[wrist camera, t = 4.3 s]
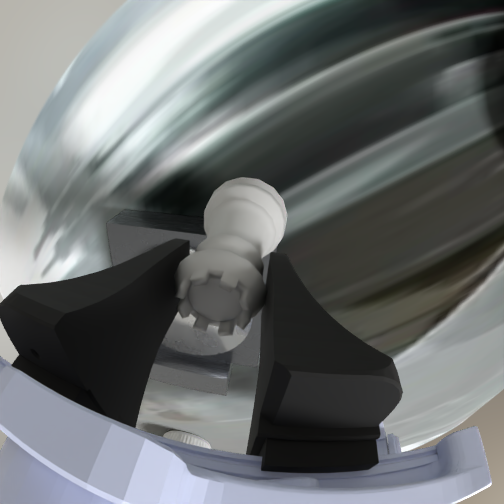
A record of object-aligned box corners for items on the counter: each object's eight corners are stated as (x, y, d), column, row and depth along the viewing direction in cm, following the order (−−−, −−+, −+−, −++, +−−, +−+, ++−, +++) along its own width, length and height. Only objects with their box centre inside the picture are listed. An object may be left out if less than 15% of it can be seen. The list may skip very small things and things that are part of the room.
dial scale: (256, 365, 29) (250, 401, 24) (146, 343, 29) (130, 374, 25) (278, 227, 21) (276, 259, 16) (124, 209, 21) (91, 233, 17)
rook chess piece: (285, 172, 14) (280, 244, 7) (289, 247, 16) (285, 356, 9) (203, 178, 15) (130, 249, 8) (215, 249, 17) (169, 348, 10)
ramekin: (210, 453, 47) (206, 472, 42) (161, 438, 46) (154, 457, 41) (220, 438, 41) (215, 462, 37) (162, 421, 41) (154, 444, 36)
